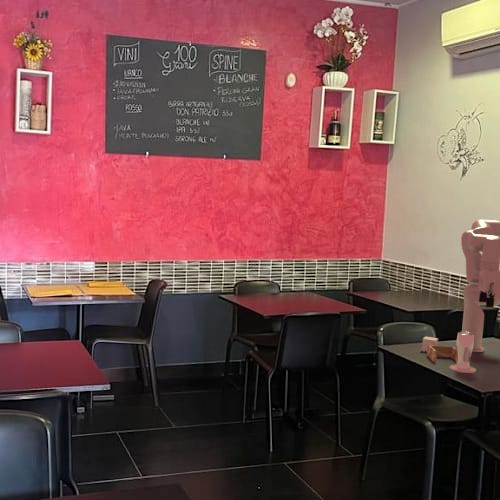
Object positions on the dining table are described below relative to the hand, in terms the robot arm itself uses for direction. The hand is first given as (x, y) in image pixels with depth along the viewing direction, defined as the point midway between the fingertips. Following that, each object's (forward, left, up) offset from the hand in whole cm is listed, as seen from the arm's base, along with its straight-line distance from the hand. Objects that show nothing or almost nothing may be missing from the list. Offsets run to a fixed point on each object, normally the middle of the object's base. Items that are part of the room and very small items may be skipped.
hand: (486, 304), depth 300 cm
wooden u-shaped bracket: (-4, -15, -27) cm, 31 cm away
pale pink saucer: (+11, -11, -27) cm, 31 cm away
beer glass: (+11, -11, -26) cm, 31 cm away
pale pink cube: (-20, -17, -27) cm, 38 cm away
